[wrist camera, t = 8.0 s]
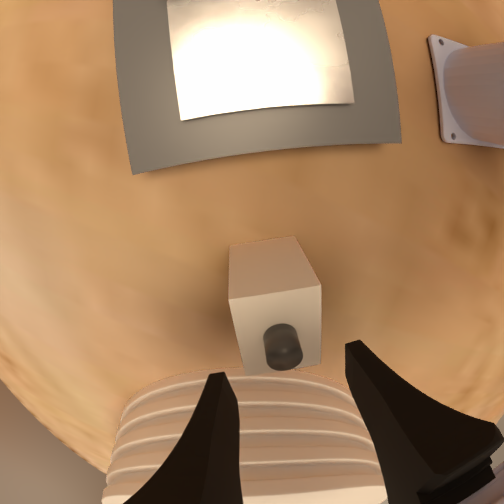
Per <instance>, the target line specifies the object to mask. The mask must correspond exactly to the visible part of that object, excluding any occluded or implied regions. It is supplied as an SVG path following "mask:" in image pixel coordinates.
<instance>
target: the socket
mask: <svg viewBox="0 0 504 504" xmlns="http://www.w3.org/2000/svg"><path fill="white" fill-rule="evenodd" d="M336 4H337V8H338V12H339V16H340V21H341V25H342V30H343V34H344V39H345V44H346V50H347V55H348V61H349V67H350V73H351V80H352V87H353V95H354V104H327V105H302V106H286V107H274V108H264V109H255V110H247V111H239V112H232V113H225V114H219V115H213V116H207V117H201V118H196V119H191V120H186V121H181V117H180V110H179V104H178V97H177V89H176V82H175V75H174V67H173V59H172V50H171V41H170V32H169V22H168V11H167V0H113V25H114V45H115V58H116V70H117V80H118V89H119V97H120V105H121V112H122V119H123V125H124V131H125V137H126V143H127V149H128V154H129V159H130V165H131V170H132V174H133V175H135V174H139V173H144V172H148V171H152V170H157V169H162V168H166V167H171V166H176V165H181V164H186V163H191V162H197V161H202V160H208V159H214V158H220V157H226V156H233V155H240V154H247V153H254V152H262V151H271V150H280V149H289V148H300V147H312V146H326V145H344V144H374V143H402V141H401V126H400V114H399V104H398V95H397V87H396V80H395V73H394V67H393V61H392V56H391V51H390V45H389V41H388V36H387V32H386V27H385V23H384V19H383V15H382V11H381V8H380V4H379V1H378V0H336Z"/></svg>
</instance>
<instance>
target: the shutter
mask: <svg viewBox="0 0 504 504" xmlns="http://www.w3.org/2000/svg"><path fill="white" fill-rule="evenodd" d="M167 11H168V22H169V32H170V41H171V50H172V59H173V67H174V75H175V82H176V89H177V97H178V104H179V110H180V117H181V121H186V120H191V119H196V118H201V117H207V116H213V115H219V114H225V113H232V112H239V111H247V110H255V109H264V108H274V107H286V106H302V105H327V104H354V95H353V87H352V80H351V73H350V67H349V61H348V55H347V50H346V44H345V39H344V34H343V30H342V25H341V21H340V16H339V12H338V8H337V4H336V0H167Z"/></svg>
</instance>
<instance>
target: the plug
mask: <svg viewBox="0 0 504 504" xmlns="http://www.w3.org/2000/svg"><path fill="white" fill-rule="evenodd" d="M228 300H229V305H230V310H231V314H232V319H233V323H234V328H235V332H236V336H237V341H238V345H239V350H240V354H241V358H242V362H243V366H244V371H245V375H246V376H252V375H259V374H266V373H273V372H279V371H286V370H291V369H297V368H302V367H308V366H313V365H318V364H321V317H322V308H321V284H320V282H319V280H318V278H317V276H316V274H315V272H314V270H313V269H312V267H311V265H310V263H309V261H308V259H307V257H306V256H305V254H304V252H303V250H302V248H301V246H300V245H299V243H298V241H297V239H296V237H295V236H288V237H281V238H274V239H268V240H261V241H254V242H248V243H241V244H234V245H230V248H229V289H228Z"/></svg>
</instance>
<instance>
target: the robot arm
mask: <svg viewBox="0 0 504 504" xmlns="http://www.w3.org/2000/svg"><path fill="white" fill-rule="evenodd" d="M428 41H429V46H430V51H431V56H432V61H433V66H434V72H435V79H436V86H437V94H438V103H439V114H440V127H441V138H442V140H443V141H444V142H447V143H457V144H469V145H479V146H488V147H496V148H503V149H504V42H500V43H492V44H485V45H479V46H472V47H469V46H466V45H464V44H461V43H458V42H455V41H452V40H450V39H447V38H444V37H440V36H437V35H430V36H429V37H428ZM439 42H440V43H441V44H440V43H439ZM451 134H452V136H453V137H452V138H451ZM345 375H346V379H347V382H348V385H349V388H350V391H351V394H352V397H353V399H354V401H355V403H356V405H357V408H358V410H359V412H360V414H361V416H362V419H363V421H364V423H365V425H366V427H367V430H368V432H369V434H370V436H371V439H372V441H373V444H374V447H375V451H376V454H377V457H378V461H379V464H380V468H381V472H382V476H383V480H384V484H385V488H386V492H387V497H388V503H389V504H504V462H502V463H501V464H500V465H498V466H497V467H496V468H494V469H493V470H492V468H491V466H490V464H492V460H491V458H490V456H491V455H492V454H493V453H494V452H495V451H496V450H497V449H498V448H499V447H500V446H501V445H502V443H503V442H504V437H503V436H502V434H501V432H500V430H499V429H498V428H497V426H496V425H495V424H494V423H492V422H488V421H484V420H481V419H477V418H474V417H471V416H469V415H466V414H463V413H461V412H458V411H456V410H454V409H452V408H450V407H448V406H445V405H443V404H441V403H439V402H438V401H436V400H434V399H432V398H430V397H429V396H427V395H426V394H424V393H422V392H421V391H419V390H418V389H416V388H415V387H413V386H412V385H411V384H409V383H408V382H407V381H405V380H404V379H403V378H401V377H400V376H399V375H398V374H396V373H395V372H394V371H393V370H392V369H390V368H389V367H388V366H387V365H386V364H385V363H384V362H382V361H381V360H380V359H379V358H378V357H377V356H376V355H375V354H374V353H373V352H372V351H371V350H370V349H369V348H368V347H367V346H366V345H365V344H364V343H363V342H362V341H361V340H357V341H354V342H350V343H347V344H345ZM239 448H240V418H239V409H238V400H237V398H236V396H235V393H234V391H233V389H232V387H231V385H230V383H229V381H228V378H227V376H226V374H225V372H218V373H211V374H209V376H208V378H207V381H206V383H205V386H204V389H203V391H202V394H201V396H200V399H199V401H198V403H197V406H196V408H195V410H194V412H193V414H192V416H191V418H190V421H189V422H188V424H187V426H186V428H185V430H184V432H183V434H182V435H181V437H180V439H179V440H178V442H177V444H176V445H175V447H174V448H173V450H172V451H171V453H170V454H169V456H168V457H167V458H166V460H165V461H164V462H163V464H162V465H161V466H160V468H159V469H158V470H157V471H156V472H155V473H154V475H153V476H152V477H151V478H150V479H149V480H148V481H147V482H146V483H145V484H144V485H143V486H142V487H141V488H140V489H139V490H138V491H137V492H136V493H135V494H134V495H132V496H131V497H130V498H129V499H128V500H126V501H125V502H124V503H123V504H243V497H242V490H241V481H240V470H239Z"/></svg>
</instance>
